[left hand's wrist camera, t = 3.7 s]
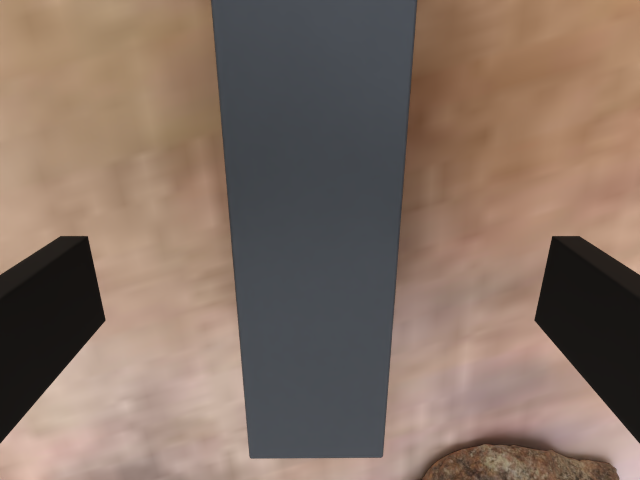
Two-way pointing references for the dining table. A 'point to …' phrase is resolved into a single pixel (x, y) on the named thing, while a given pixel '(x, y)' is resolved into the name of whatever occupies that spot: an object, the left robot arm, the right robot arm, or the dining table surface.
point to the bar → (315, 212)
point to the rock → (516, 465)
